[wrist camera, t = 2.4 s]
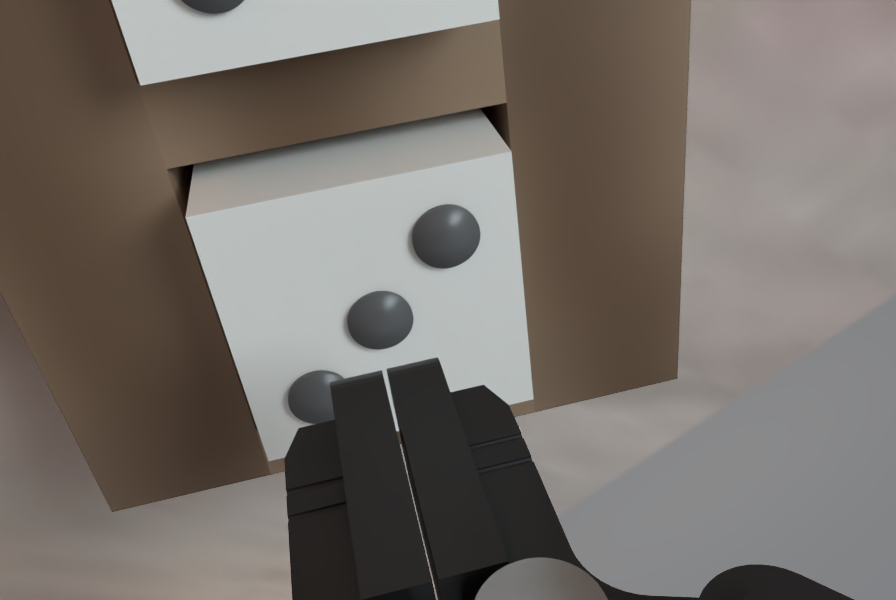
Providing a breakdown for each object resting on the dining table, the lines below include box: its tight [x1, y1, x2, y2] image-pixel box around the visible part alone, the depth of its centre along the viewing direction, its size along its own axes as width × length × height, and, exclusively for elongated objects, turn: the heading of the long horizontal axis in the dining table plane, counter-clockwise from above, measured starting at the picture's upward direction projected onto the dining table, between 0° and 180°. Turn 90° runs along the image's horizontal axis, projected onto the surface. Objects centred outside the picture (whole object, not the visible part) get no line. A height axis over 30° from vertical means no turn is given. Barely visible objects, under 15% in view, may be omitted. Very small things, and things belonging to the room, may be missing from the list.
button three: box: [185, 108, 534, 461], centre depth 15 cm, size 5×5×3 cm
